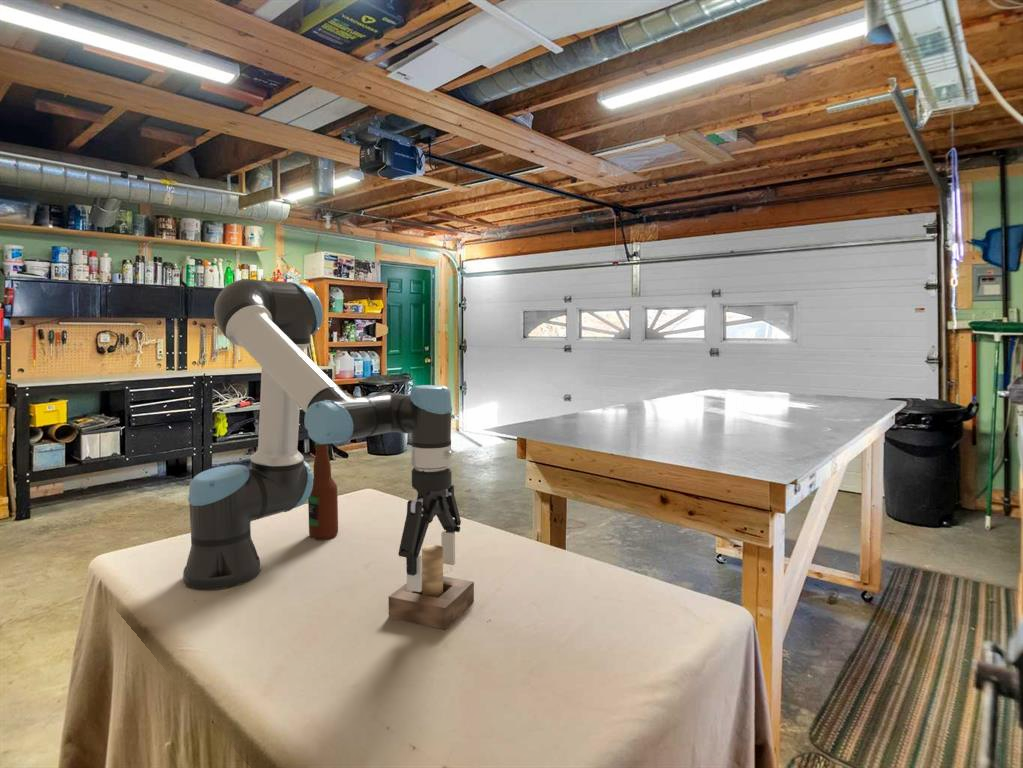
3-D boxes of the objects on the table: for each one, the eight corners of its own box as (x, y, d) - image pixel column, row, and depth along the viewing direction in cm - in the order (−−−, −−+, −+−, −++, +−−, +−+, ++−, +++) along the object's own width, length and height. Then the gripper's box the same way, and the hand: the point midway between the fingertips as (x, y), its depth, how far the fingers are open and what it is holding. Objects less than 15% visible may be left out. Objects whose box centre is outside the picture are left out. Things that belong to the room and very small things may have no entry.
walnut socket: (388, 617, 109) (388, 596, 109) (421, 590, 120) (421, 572, 120) (445, 629, 105) (445, 608, 104) (473, 601, 116) (473, 581, 116)
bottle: (317, 530, 157) (314, 438, 154) (342, 531, 156) (341, 439, 153) (303, 539, 149) (301, 443, 147) (330, 541, 148) (328, 444, 146)
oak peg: (418, 611, 111) (417, 550, 110) (428, 602, 115) (428, 543, 114) (436, 615, 110) (436, 554, 109) (446, 606, 114) (446, 546, 113)
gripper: (414, 484, 97) (415, 607, 99) (477, 456, 120) (477, 556, 122) (377, 480, 100) (378, 599, 102) (444, 453, 123) (445, 551, 125)
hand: (432, 576), depth 112 cm, fingers open, 12 cm apart
